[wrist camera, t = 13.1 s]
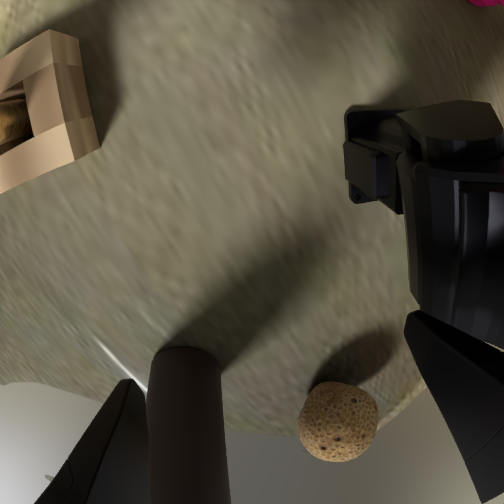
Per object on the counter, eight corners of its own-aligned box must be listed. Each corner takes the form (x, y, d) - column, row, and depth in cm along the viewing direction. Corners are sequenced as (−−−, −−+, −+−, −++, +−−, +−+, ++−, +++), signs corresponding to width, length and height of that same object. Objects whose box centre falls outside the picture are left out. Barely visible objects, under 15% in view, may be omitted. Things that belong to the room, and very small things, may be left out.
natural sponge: (375, 358, 30) (410, 429, 22) (344, 402, 34) (367, 466, 26) (302, 361, 28) (328, 447, 20) (279, 407, 32) (295, 479, 24)
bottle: (205, 393, 29) (217, 571, 12) (144, 376, 27) (130, 565, 10) (232, 356, 27) (259, 572, 9) (162, 335, 25) (147, 572, 7)
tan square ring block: (78, 38, 13) (49, 29, 9) (100, 147, 17) (74, 160, 13) (-7, 87, 12) (-41, 92, 9) (15, 182, 16) (-16, 201, 13)
